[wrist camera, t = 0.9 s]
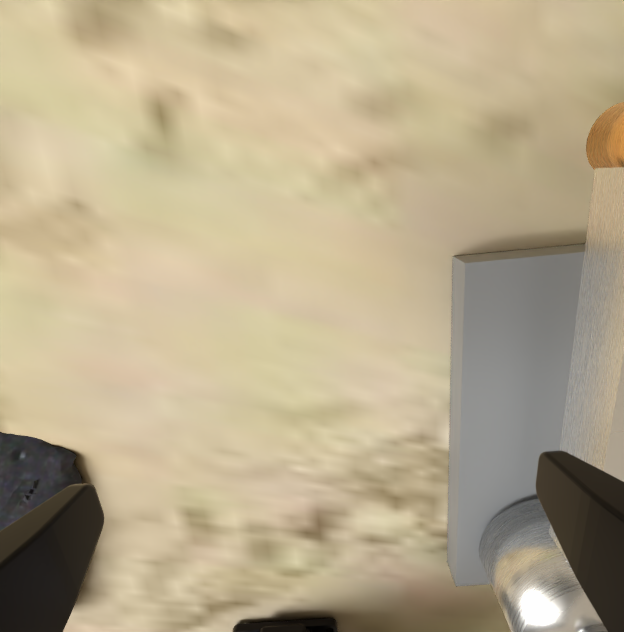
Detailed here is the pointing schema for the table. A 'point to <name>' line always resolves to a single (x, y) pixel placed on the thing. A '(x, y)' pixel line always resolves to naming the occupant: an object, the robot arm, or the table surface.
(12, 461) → the dark slate chunk
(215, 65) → the table surface
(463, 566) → the base board
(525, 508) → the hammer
